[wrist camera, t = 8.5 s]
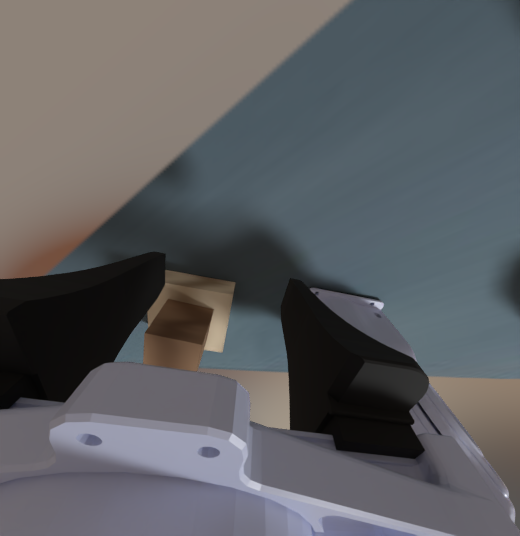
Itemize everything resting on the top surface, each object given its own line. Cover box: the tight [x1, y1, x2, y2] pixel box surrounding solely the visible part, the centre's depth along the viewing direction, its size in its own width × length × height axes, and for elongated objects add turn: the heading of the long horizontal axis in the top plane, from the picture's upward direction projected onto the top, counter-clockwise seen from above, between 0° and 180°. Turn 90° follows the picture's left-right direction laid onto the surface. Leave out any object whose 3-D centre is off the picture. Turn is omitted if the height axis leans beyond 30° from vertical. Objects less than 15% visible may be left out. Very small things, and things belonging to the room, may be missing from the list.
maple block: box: [148, 270, 236, 352], centre depth 25 cm, size 9×9×3 cm
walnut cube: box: [143, 299, 214, 372], centre depth 21 cm, size 5×5×5 cm
